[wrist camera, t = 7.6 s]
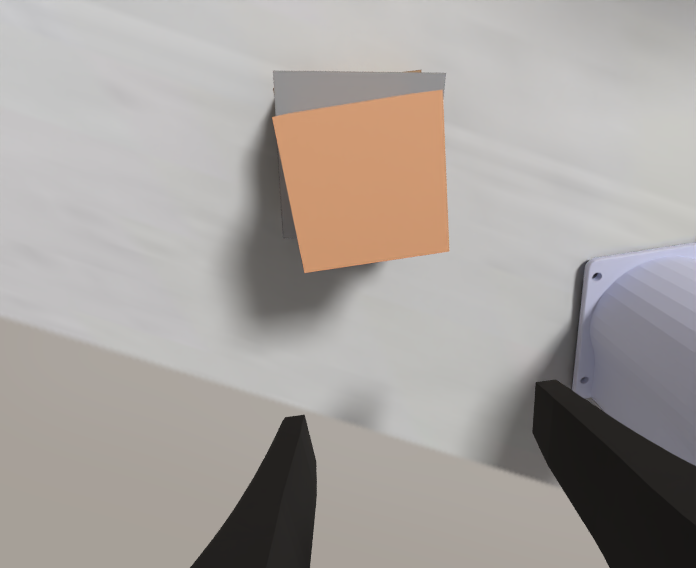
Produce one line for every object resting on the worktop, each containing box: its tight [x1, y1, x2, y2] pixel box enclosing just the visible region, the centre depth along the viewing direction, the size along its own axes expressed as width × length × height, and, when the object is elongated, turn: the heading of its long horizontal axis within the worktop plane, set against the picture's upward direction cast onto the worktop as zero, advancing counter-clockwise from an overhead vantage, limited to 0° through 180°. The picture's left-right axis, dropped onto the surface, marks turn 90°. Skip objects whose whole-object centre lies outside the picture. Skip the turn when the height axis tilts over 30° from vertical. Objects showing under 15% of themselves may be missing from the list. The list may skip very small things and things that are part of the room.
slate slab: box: [273, 71, 446, 238], centre depth 16 cm, size 6×6×2 cm
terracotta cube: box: [272, 90, 449, 273], centre depth 13 cm, size 4×4×4 cm
